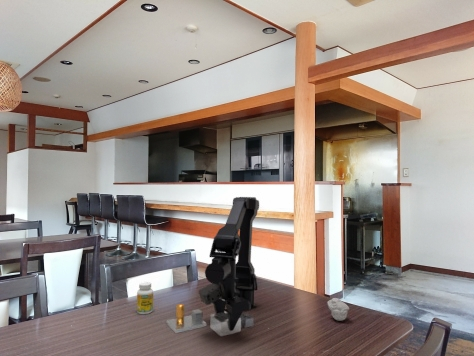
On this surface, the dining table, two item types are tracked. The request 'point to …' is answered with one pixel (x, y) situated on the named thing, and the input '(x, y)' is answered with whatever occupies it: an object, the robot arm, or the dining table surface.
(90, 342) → the dining table surface
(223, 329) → the grey square frame
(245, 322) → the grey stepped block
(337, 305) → the grey stone carving
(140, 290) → the supplement bottle
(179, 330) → the peg stand
